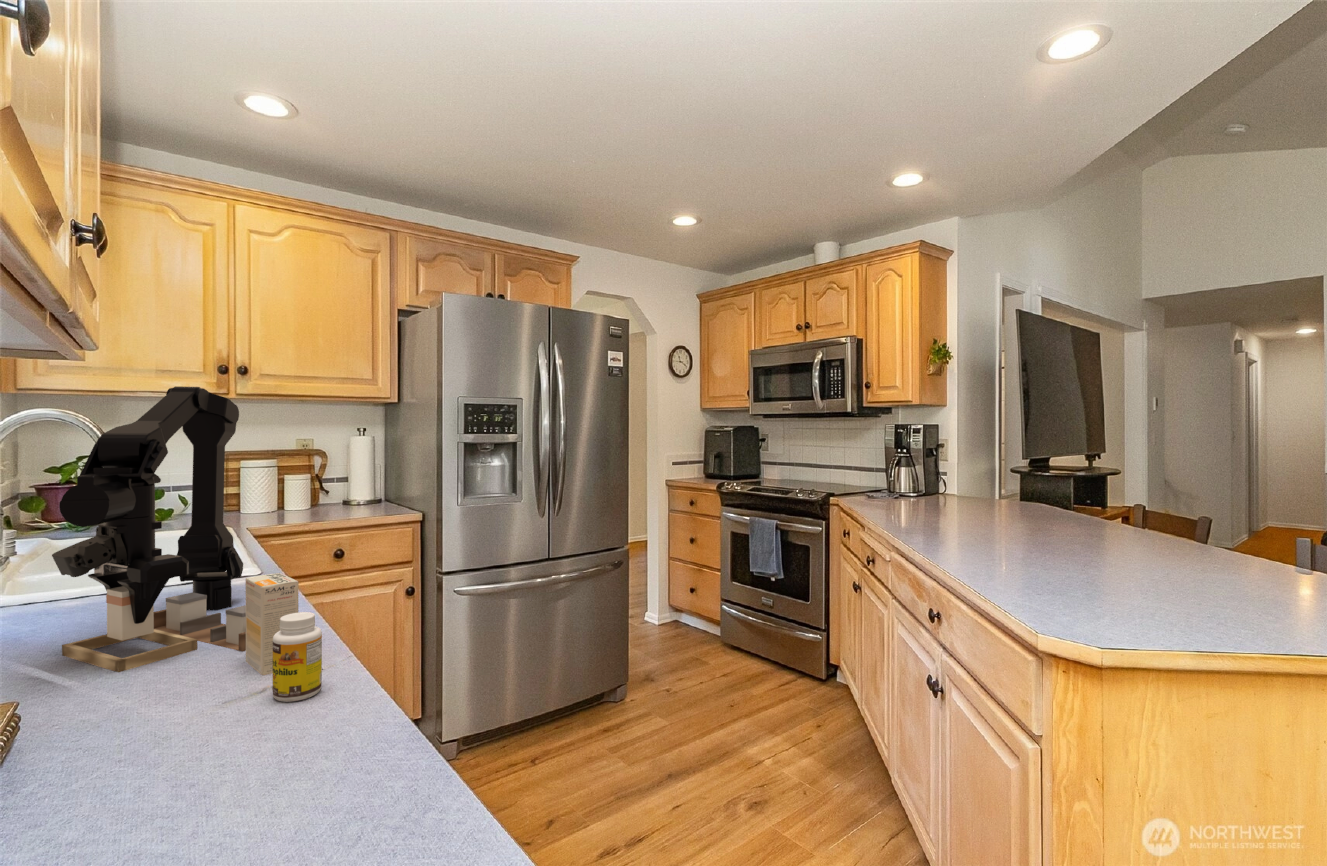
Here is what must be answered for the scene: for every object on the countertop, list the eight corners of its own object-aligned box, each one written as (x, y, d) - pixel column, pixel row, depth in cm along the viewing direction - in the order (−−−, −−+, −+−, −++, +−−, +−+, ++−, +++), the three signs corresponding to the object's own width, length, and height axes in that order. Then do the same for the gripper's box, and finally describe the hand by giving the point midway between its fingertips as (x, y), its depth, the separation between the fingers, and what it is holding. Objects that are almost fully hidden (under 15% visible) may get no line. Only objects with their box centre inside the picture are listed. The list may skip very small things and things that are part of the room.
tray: (62, 661, 94) (61, 644, 94) (140, 641, 103) (140, 625, 103) (118, 679, 88) (118, 661, 88) (197, 655, 97) (197, 639, 97)
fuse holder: (147, 634, 107) (147, 613, 107) (192, 622, 113) (192, 603, 113) (242, 657, 96) (242, 634, 96) (287, 643, 103) (287, 621, 103)
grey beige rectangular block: (165, 627, 107) (165, 598, 107) (192, 621, 111) (192, 592, 111) (180, 631, 105) (180, 600, 105) (206, 624, 109) (206, 595, 109)
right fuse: (225, 641, 100) (225, 609, 100) (251, 634, 104) (251, 603, 104) (242, 645, 99) (242, 613, 99) (268, 637, 103) (268, 606, 102)
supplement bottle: (261, 700, 82) (261, 620, 82) (298, 683, 87) (298, 608, 87) (296, 706, 80) (296, 624, 80) (331, 688, 85) (331, 612, 85)
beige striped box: (138, 628, 99) (138, 583, 98) (154, 632, 97) (154, 586, 97) (106, 636, 95) (106, 589, 95) (122, 640, 93) (121, 592, 93)
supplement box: (300, 673, 91) (300, 580, 91) (261, 683, 87) (261, 586, 87) (281, 658, 96) (281, 571, 96) (244, 667, 93) (244, 576, 93)
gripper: (28, 519, 92) (28, 627, 92) (98, 528, 84) (99, 647, 85) (120, 510, 102) (120, 607, 103) (190, 517, 95) (191, 623, 95)
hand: (130, 621), depth 96 cm, fingers closed on beige striped box, 4 cm apart
